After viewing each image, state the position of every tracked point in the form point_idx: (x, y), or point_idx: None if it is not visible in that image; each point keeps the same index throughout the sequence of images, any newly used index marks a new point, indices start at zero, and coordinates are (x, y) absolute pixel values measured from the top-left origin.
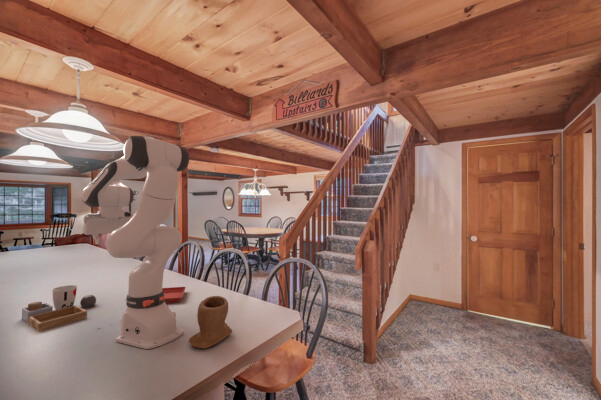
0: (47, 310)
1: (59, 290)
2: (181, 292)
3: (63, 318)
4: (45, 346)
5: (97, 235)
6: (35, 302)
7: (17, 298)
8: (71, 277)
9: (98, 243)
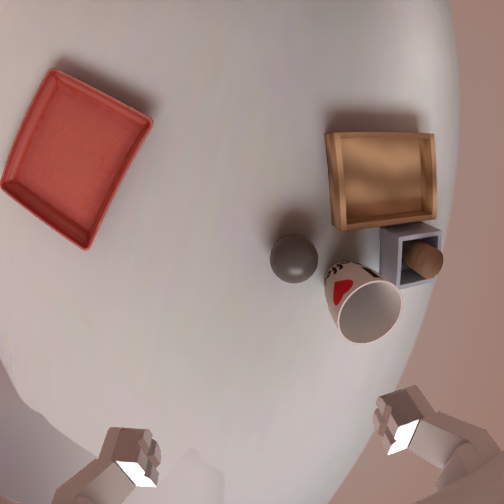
0: (404, 232)
1: (394, 287)
2: (20, 174)
3: (389, 132)
4: (415, 48)
5: (468, 456)
6: (428, 274)
7: (359, 432)
8: (238, 499)
9: (402, 391)
